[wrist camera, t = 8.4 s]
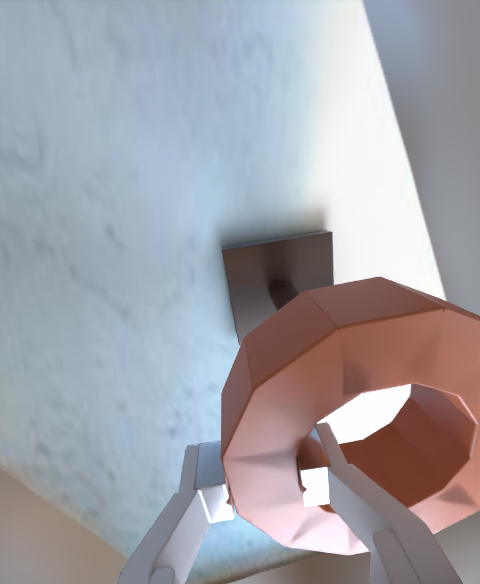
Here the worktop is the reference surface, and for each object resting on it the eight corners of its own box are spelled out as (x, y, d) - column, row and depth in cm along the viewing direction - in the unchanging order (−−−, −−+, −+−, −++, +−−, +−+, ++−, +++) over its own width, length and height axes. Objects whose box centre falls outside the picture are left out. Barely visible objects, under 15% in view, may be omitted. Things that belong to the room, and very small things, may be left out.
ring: (200, 310, 9) (189, 356, 7) (481, 256, 9) (593, 279, 7) (247, 493, 13) (254, 574, 10) (448, 455, 13) (511, 524, 10)
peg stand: (221, 247, 23) (217, 302, 11) (326, 229, 23) (448, 264, 11) (238, 338, 27) (250, 462, 14) (329, 323, 27) (424, 434, 14)
